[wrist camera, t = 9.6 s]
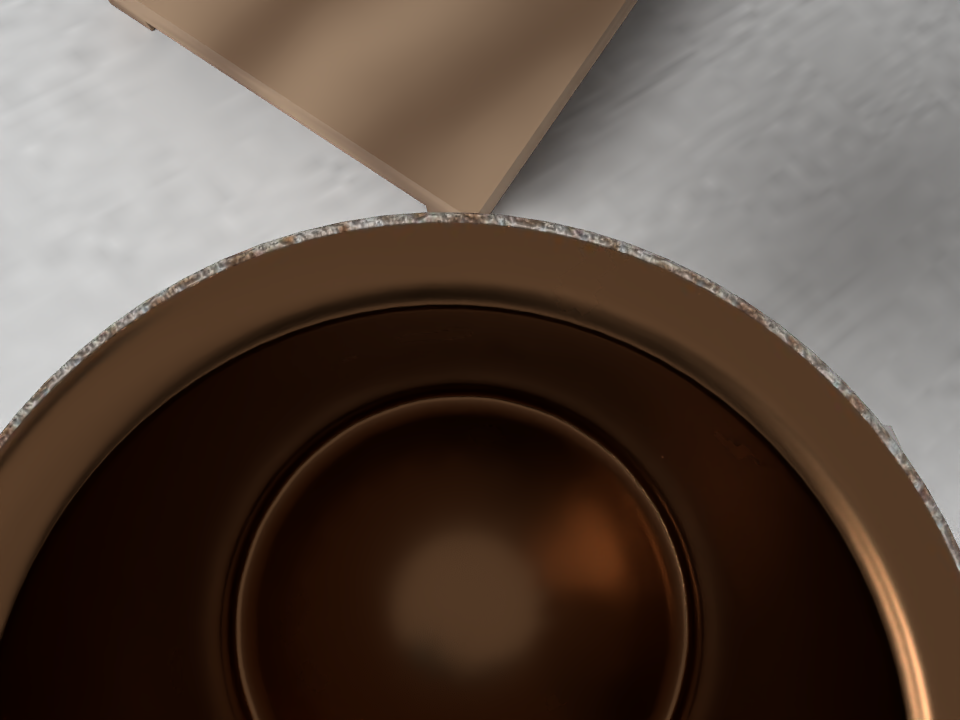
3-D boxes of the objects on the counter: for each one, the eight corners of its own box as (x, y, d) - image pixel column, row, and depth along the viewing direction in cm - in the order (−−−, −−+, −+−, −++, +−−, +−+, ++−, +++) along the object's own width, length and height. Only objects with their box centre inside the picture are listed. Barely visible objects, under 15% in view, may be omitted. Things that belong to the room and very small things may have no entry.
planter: (564, 247, 19) (650, 11, 9) (842, 722, 17) (1277, 1021, 8) (95, 505, 18) (-339, 540, 8) (350, 1017, 17) (179, 1735, 7)
